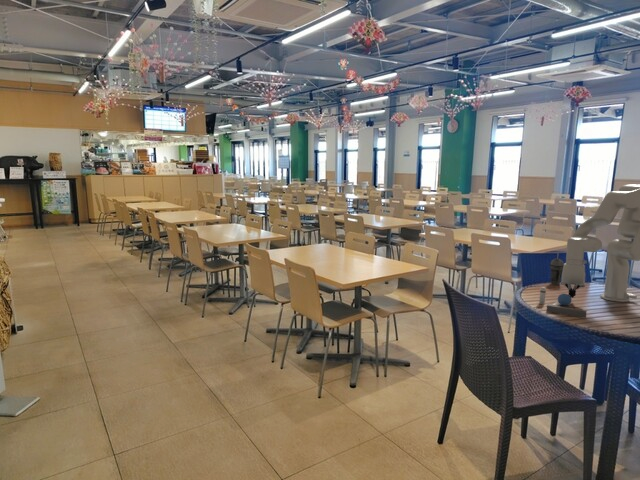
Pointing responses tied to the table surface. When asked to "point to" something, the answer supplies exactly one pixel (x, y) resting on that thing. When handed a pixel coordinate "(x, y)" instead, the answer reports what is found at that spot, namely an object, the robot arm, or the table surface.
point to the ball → (564, 299)
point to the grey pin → (542, 295)
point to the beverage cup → (556, 270)
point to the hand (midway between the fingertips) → (571, 296)
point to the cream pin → (556, 304)
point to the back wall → (566, 311)
